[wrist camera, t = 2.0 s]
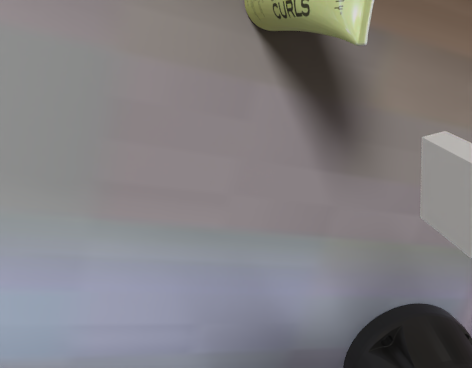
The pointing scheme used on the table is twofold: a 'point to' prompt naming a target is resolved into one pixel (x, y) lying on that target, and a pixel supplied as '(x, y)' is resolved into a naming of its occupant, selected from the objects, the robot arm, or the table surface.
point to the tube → (314, 17)
